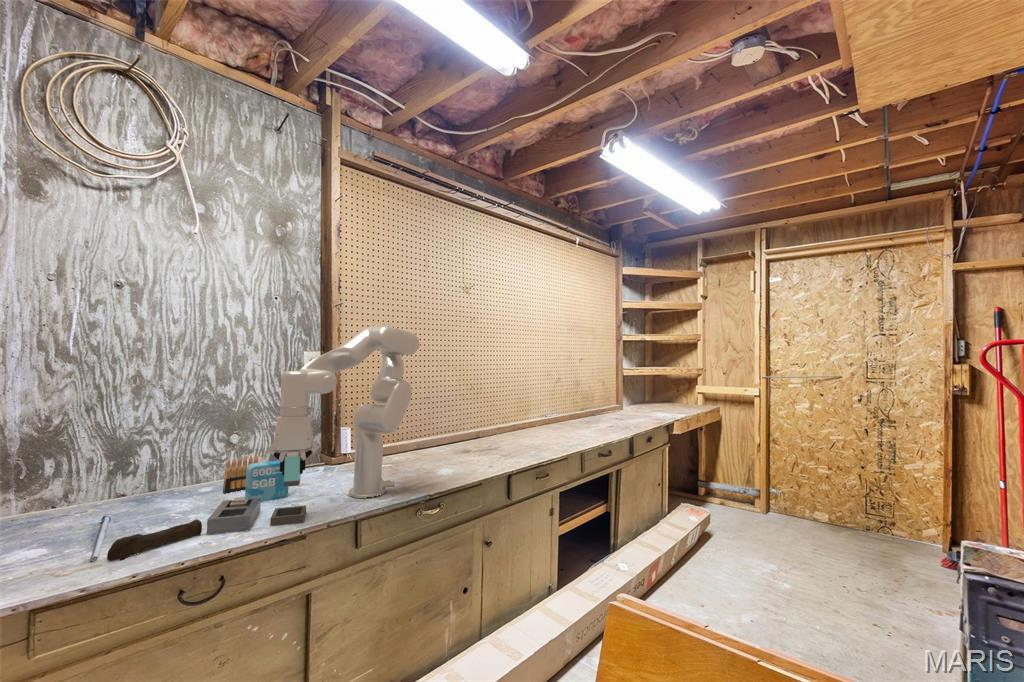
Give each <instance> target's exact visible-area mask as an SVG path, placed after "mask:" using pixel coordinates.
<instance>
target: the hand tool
mask: <svg viewBox="0 0 1024 682" xmlns="http://www.w3.org/2000/svg"><path fill="white" fill-rule="evenodd" d="M202 531H203V523H202V521H201V520H199V519H194V520H192V521H189V522H187V523H182V524H179V525H175V526H172V527H170V528H166V529H163V530H159V531H155V532H151V533H147V534H141V533H136V534H132V535H128V536H124V537H121V538H118V539H116V540H115V541H114V542H113V543H112V545H111V546H110V548H109V549H108V552H107V556H106V559H107V561H113V560H119V559H123V558H128V557H132V556H135V555H134V554H136V555H138V554H137V553H139V554H140V553H141V552H143V551H145V550H149V549H151V548H155V547H158V546H161V545H164V544H168V543H171V542H175V541H178V540H182V539H185V538H189V537H191V536H195V535H197V536H200V535H201V534H202ZM131 555H132V556H131ZM127 556H128V557H127Z"/></svg>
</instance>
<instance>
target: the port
mask: <svg viewBox="0 0 1024 682" xmlns="http://www.w3.org/2000/svg"><path fill="white" fill-rule="evenodd" d="M261 504H262V502H261V498H251V499H246V497H245V496H243V497H234V498H233V499H228V500H222V501H221V503H220V504H219V505H218V506H217V508H216V509H215V510H214V511H213V512H212V514H210V516H209V517H208V518H207V519H206V520H207V521H206V535H207V534H209V535H216V534H215V533H219V534H226V533H225V532H229V533H237V531H239V532H246V530H248V531H250V530H251V529H250V528H252V527H253V525H254V524H255V521H256V520H257V518H256V517H258V516H259V513H260V512H261ZM255 519H256V520H255Z"/></svg>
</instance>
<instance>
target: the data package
mask: <svg viewBox="0 0 1024 682" xmlns="http://www.w3.org/2000/svg"><path fill="white" fill-rule="evenodd" d="M288 494H289V486H288V487H284V475H282V472H280V461H279V460H278V459H277V460H273V461H272V460H271V461H261V462H258V463H254V462H253V464H250V465H249V466H248V465H247V470H246V487H245V490H244V497H246V499H251V498H261V503H262V502H267V501H272V500H279V499H284V498H285V497H287V496H288Z"/></svg>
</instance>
